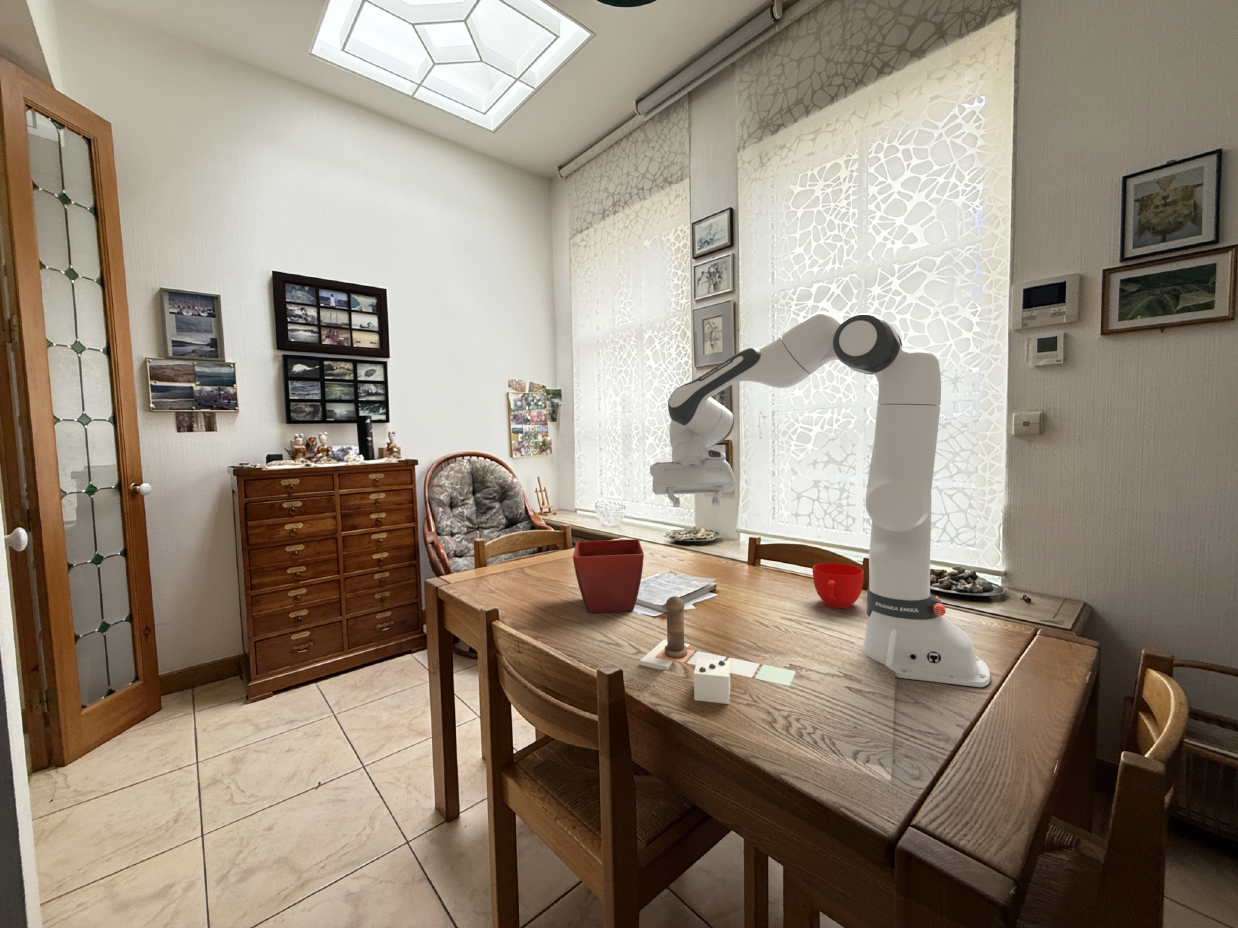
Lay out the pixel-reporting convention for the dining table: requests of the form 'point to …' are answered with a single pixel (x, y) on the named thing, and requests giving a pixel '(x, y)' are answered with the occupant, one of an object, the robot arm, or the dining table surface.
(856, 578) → the ceramic cup
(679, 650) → the pawn
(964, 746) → the dining table surface
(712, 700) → the die
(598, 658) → the dining table surface
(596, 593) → the plant pot
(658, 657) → the game board
